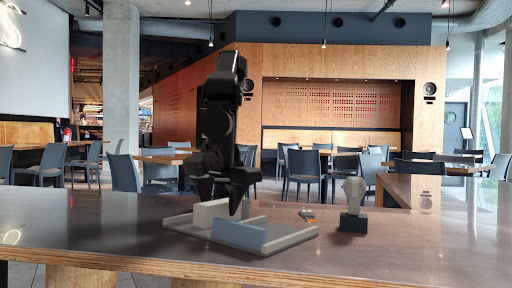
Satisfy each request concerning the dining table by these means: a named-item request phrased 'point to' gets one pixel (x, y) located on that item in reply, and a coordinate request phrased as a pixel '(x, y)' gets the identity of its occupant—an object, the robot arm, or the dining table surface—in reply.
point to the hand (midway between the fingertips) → (218, 212)
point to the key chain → (307, 215)
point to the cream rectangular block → (218, 212)
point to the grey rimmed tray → (244, 233)
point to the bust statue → (354, 206)
